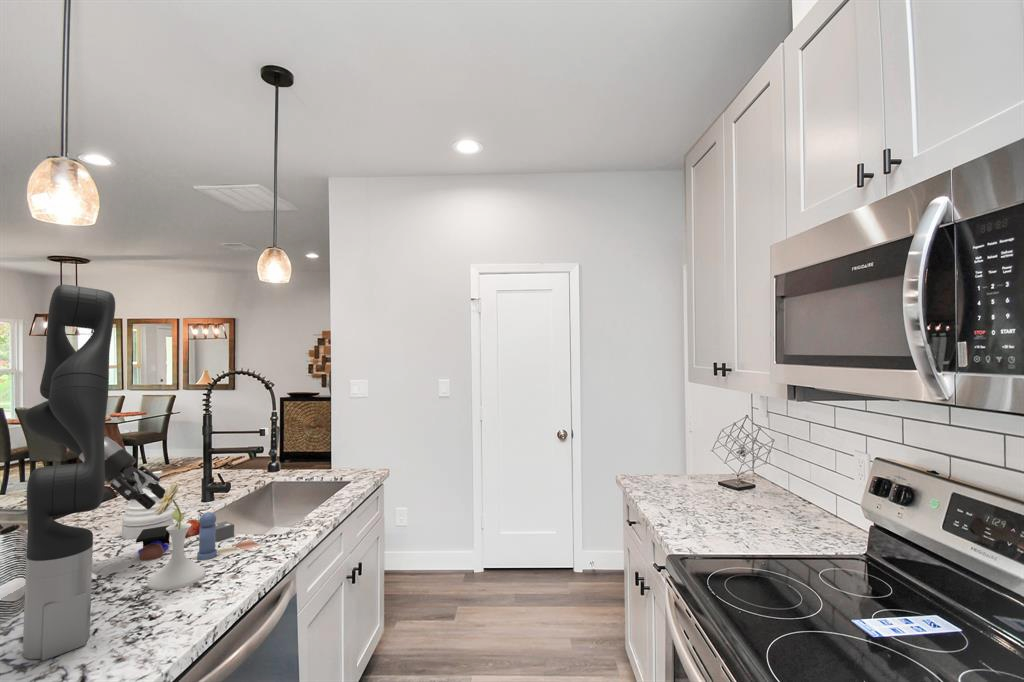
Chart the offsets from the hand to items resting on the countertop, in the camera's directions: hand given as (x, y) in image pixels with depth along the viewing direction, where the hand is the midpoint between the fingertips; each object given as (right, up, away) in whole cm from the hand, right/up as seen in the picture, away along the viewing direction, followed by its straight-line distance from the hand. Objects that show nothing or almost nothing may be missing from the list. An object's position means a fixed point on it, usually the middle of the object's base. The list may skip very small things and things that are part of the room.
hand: (159, 501), depth 127 cm
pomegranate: (-5, -18, +20) cm, 28 cm away
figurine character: (-7, -17, +7) cm, 20 cm away
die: (+6, -17, +17) cm, 25 cm away
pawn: (+11, -15, +2) cm, 19 cm away
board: (+14, -17, +7) cm, 23 cm away
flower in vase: (+12, -17, -12) cm, 24 cm away
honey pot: (-22, -18, +26) cm, 39 cm away
